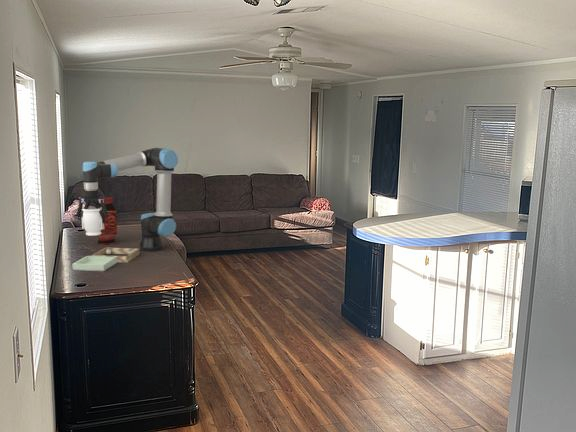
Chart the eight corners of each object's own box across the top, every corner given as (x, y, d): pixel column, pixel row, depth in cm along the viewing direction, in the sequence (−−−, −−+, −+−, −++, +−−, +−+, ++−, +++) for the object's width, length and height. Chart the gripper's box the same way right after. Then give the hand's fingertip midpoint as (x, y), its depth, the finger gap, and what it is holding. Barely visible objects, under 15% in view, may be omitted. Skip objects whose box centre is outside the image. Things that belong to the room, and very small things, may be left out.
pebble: (112, 253, 354) (111, 248, 353) (110, 255, 351) (109, 250, 350) (107, 253, 354) (107, 248, 354) (105, 254, 351) (104, 249, 351)
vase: (117, 239, 391) (114, 196, 386) (117, 244, 379) (115, 199, 373) (95, 241, 387) (93, 197, 381) (95, 245, 374) (93, 200, 369)
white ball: (136, 254, 352) (136, 249, 352) (134, 256, 349) (134, 250, 349) (131, 254, 353) (131, 249, 352) (129, 255, 350) (129, 250, 349)
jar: (85, 237, 316) (83, 210, 313) (82, 233, 325) (80, 207, 322) (105, 235, 321) (103, 208, 318) (101, 231, 330) (100, 206, 327)
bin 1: (116, 262, 334) (116, 256, 333) (103, 271, 316) (103, 265, 316) (87, 261, 336) (87, 255, 335) (72, 270, 318) (72, 263, 318)
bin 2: (139, 254, 354) (139, 248, 353) (127, 262, 334) (127, 256, 334) (105, 252, 356) (105, 247, 355) (91, 261, 337) (91, 255, 336)
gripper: (113, 189, 320) (115, 227, 325) (74, 188, 323) (77, 226, 327) (107, 191, 313) (109, 230, 317) (68, 190, 316) (70, 229, 320)
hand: (93, 228), depth 322 cm, fingers closed on jar, 10 cm apart
